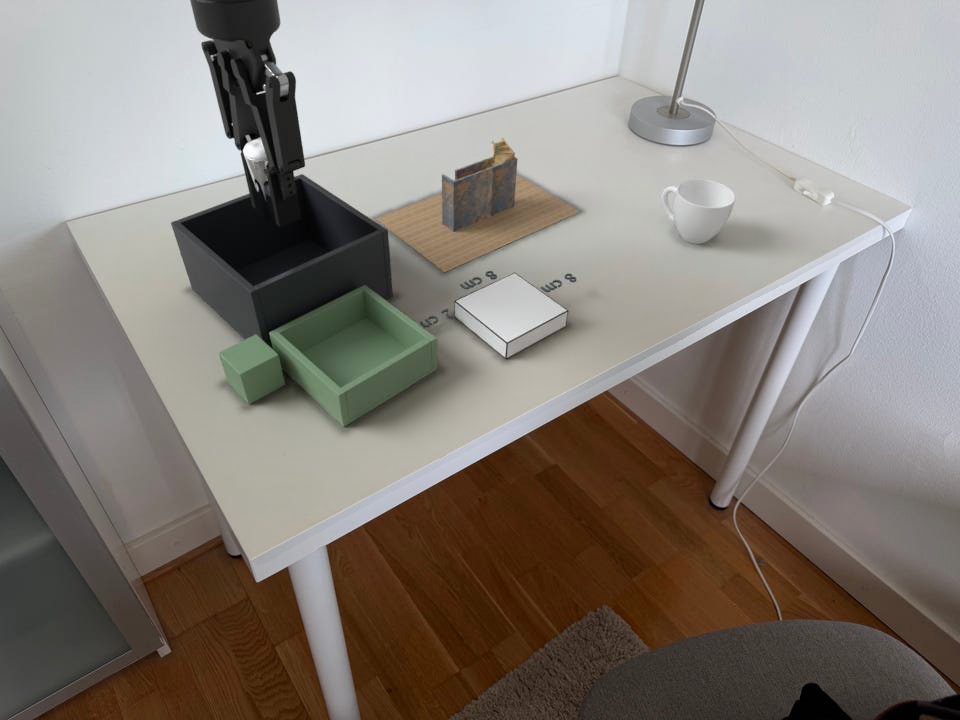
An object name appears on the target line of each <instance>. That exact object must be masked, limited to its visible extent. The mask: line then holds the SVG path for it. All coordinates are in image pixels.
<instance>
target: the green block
mask: <svg viewBox="0 0 960 720" xmlns="http://www.w3.org/2000/svg"><path fill="white" fill-rule="evenodd" d="M218 356H219V360H220V363H221V366H222V368H223V369H222V370H223V372H224V374H225V375H224V376H225V378H226V381H227V384H228V385H229V386H230V387H231V388H232V389H233V390H234V391H235V392H236V393H237V394H238V395H239V396H240V397H241V398H242V399H243V401H245V403H247V405H251V404H253V403H255V402H257V401H259V400H261V399H262V398H264V397H266V396H268V395H270V394H271V393H273V392H275V391H277V390H279V389H281V388H282V387H284V386H286V382H285V381H286V380H285V376H284V373H283V372H284V371H283V369H282V368H281V364H280V359H279V355H278V354H277V353H276V352H275V351H274V350H273V349H272V348H271V347H269V346H268V345H267V344H266V343H265V342H264V341H263V340H262V339H261V338H260V337H259V336H258V335H257V334H255V335H253V336H251V337H249V338H247V339H243V340H241V341H239V342H238V343H235V344H233V345H231V346H229V347H227V348H225V349H223V350H221V351H219V352H218Z"/></svg>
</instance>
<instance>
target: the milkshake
mask: <svg viewBox="0 0 960 720" xmlns="http://www.w3.org/2000/svg"><path fill="white" fill-rule="evenodd" d="M245 137H246V139H247V141H248V143H247V144H246V145H245V147H244V149H243V154H244V157H245V159H246V162H247V165H248V168H249V171H250V174H251V176H252V179H253V182H254V184H255V187H256V191H257V194H258V197H259V200H260V203H261V206H262V210H263V213H264V216H265V219H266V222H269V223H271V224H276V219H275V214H274V209H273V204H272V199H271V194H270V189H269V184H268V179H267V176H266V174H265V173H264V169H267V168H270V167H269V163H268V160H267V157H266V153H265V150H264V147H263V144H262V140H261V137H260V138H258V139H254V140H251V138H250V136H249V135H246V136H245Z"/></svg>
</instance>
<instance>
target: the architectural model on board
mask: <svg viewBox="0 0 960 720" xmlns="http://www.w3.org/2000/svg"><path fill="white" fill-rule="evenodd" d="M491 144H492V150H493V155H492V156H491V157H487V158H485V159H482V160H480V161H477V162H473V163H471V164H468V165H466V166H463V167H459V168H457V169H454V179H452V178H451V177H449V176H448V175H446V174H444V173H443V174H441V193H439V194H436V195H433V196H430V197H428V198H426V199H423V200H420V201H418V202H415V203H412V204H409V205H407V206H404V207H402V208H400V209H397V210H394V211H391V212H389V213H386V214H384V215H381V216H377V217H375V218H374V219H375V220H376V222H379V223H380V225H382V226H383V227H384V228H385V229H387V230H388V231H390V232H391V233H393V234H394V235H395V236H397V237H398V238H399V239H400V240H402V241H403V242H404V243H406V244H407V245H408V246H409V247H411V248H412V249H413V250H415V251H416V252H417V253H419V254H420V255H421V256H423V257H424V258H425V259H426V260H427V261H429V262H430V263H432V264H433V265H434V266H436V268H438V269H439V270H441V271H442V272H443V273H446V272H448V271H451V270H453V269H455V268H457V267H460V266H462V265H464V264H466V263H468V262H470V261H473V260H475V259H477V258H480V257H482V256H484V255H487V254H488V253H490V252H493V251H495V250H497V249H499V248H502V247H504V246H507V245H508V244H510V243H513V242H516V241H517V240H519V239H522V238H524V237H526V236H529V235H531V234H534V233H535V232H538V231H540V230H542V229H544V228H547V227H548V226H551V225H553V224H555V223H557V222H560V221H562V220H565V219H567V218H569V217H571V216H573V215H576V214H579V213H580V210H578V209H576V208H574V207H573V206H571V205H569V204H567V203H566V202H564V201H562V200H560V199H559V198H557V197H555V196H554V195H552V194H550V193H549V192H547V191H545V190H544V189H542V188H540V187H538V186H537V185H535V184H534V183H532V182H530V181H528V180H527V179H525V178H524V177H521V176H520V175H518V174H517V172H518V157H516V152H515V151H514V149H512V147H510V146H509V144H508V143H507V141H506V140H505V139H504V137H501V140H500V141H497V142H494V140H491Z"/></svg>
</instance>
